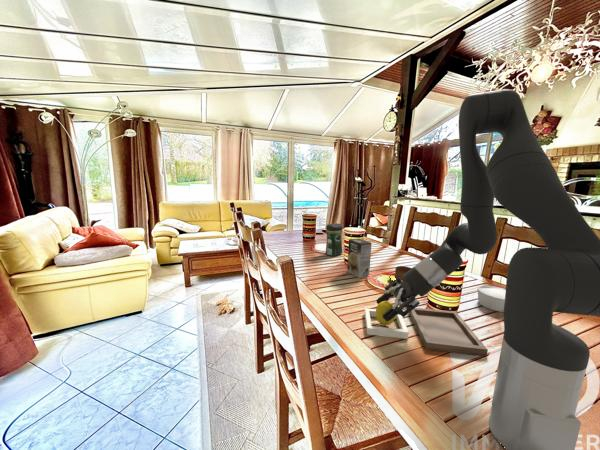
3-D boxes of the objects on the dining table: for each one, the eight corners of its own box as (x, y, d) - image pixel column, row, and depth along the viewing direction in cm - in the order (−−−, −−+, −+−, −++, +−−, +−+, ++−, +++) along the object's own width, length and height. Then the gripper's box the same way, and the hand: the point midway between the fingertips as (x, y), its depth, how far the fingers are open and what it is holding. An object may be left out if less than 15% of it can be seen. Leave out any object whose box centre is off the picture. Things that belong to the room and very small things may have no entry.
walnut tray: (486, 356, 60) (487, 349, 60) (426, 349, 63) (426, 342, 62) (455, 317, 77) (456, 311, 77) (408, 312, 80) (409, 307, 80)
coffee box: (346, 271, 116) (347, 239, 114) (357, 269, 119) (359, 237, 116) (358, 278, 108) (360, 243, 105) (370, 276, 111) (372, 242, 108)
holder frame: (408, 339, 67) (408, 332, 66) (367, 334, 69) (367, 328, 68) (399, 317, 77) (400, 311, 77) (364, 314, 79) (364, 308, 79)
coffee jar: (335, 251, 150) (335, 221, 147) (344, 254, 144) (345, 223, 140) (323, 254, 145) (323, 223, 141) (332, 257, 138) (332, 225, 135)
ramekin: (489, 296, 92) (491, 283, 91) (524, 311, 81) (526, 296, 80) (467, 300, 88) (469, 287, 87) (501, 316, 78) (503, 301, 77)
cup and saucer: (413, 277, 110) (414, 264, 108) (423, 289, 98) (425, 275, 97) (385, 276, 111) (386, 263, 110) (393, 288, 99) (394, 273, 98)
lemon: (395, 332, 70) (397, 306, 68) (375, 329, 71) (377, 304, 69) (392, 321, 75) (394, 297, 74) (374, 319, 76) (375, 295, 75)
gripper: (407, 259, 76) (368, 291, 79) (426, 276, 62) (377, 315, 65) (423, 275, 76) (383, 307, 79) (445, 297, 62) (396, 334, 65)
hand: (381, 310), depth 72 cm, fingers open, 8 cm apart
